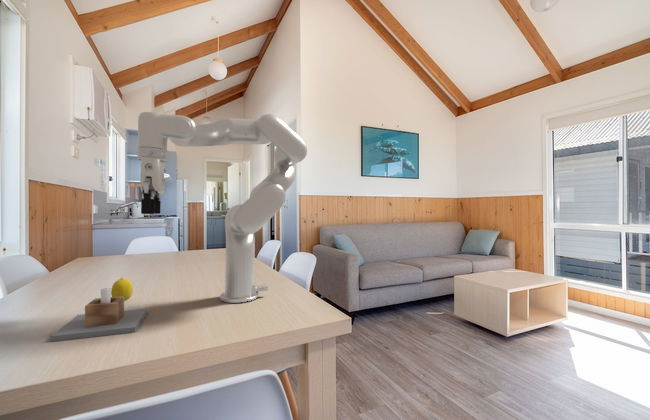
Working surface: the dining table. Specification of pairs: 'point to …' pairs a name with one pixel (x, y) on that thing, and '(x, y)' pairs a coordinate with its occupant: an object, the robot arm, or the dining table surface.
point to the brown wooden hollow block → (104, 312)
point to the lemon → (122, 289)
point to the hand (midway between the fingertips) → (151, 213)
